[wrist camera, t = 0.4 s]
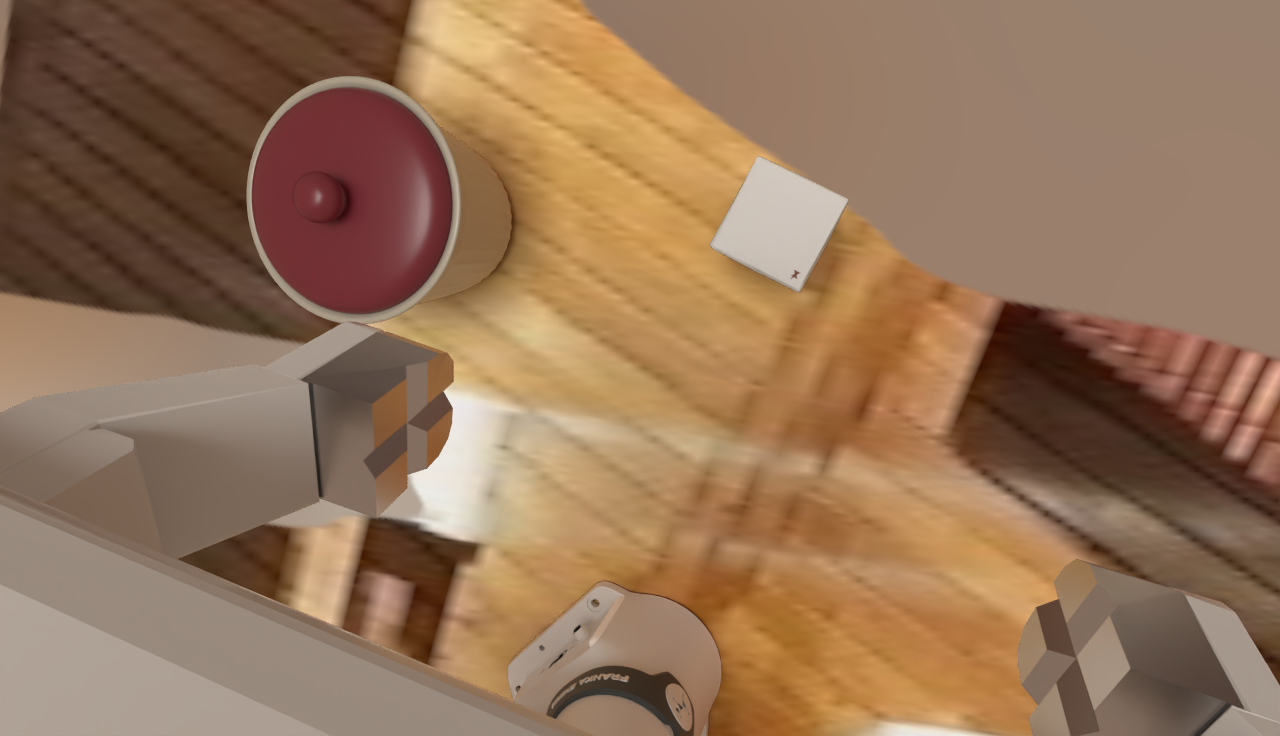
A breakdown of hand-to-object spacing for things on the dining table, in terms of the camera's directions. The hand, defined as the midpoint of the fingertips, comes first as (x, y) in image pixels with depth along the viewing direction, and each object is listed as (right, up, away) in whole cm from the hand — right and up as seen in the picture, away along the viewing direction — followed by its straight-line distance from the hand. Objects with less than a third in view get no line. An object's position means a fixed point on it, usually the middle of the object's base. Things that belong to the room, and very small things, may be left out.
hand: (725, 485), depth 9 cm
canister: (-19, +16, +57) cm, 62 cm away
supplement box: (+11, +13, +51) cm, 54 cm away
